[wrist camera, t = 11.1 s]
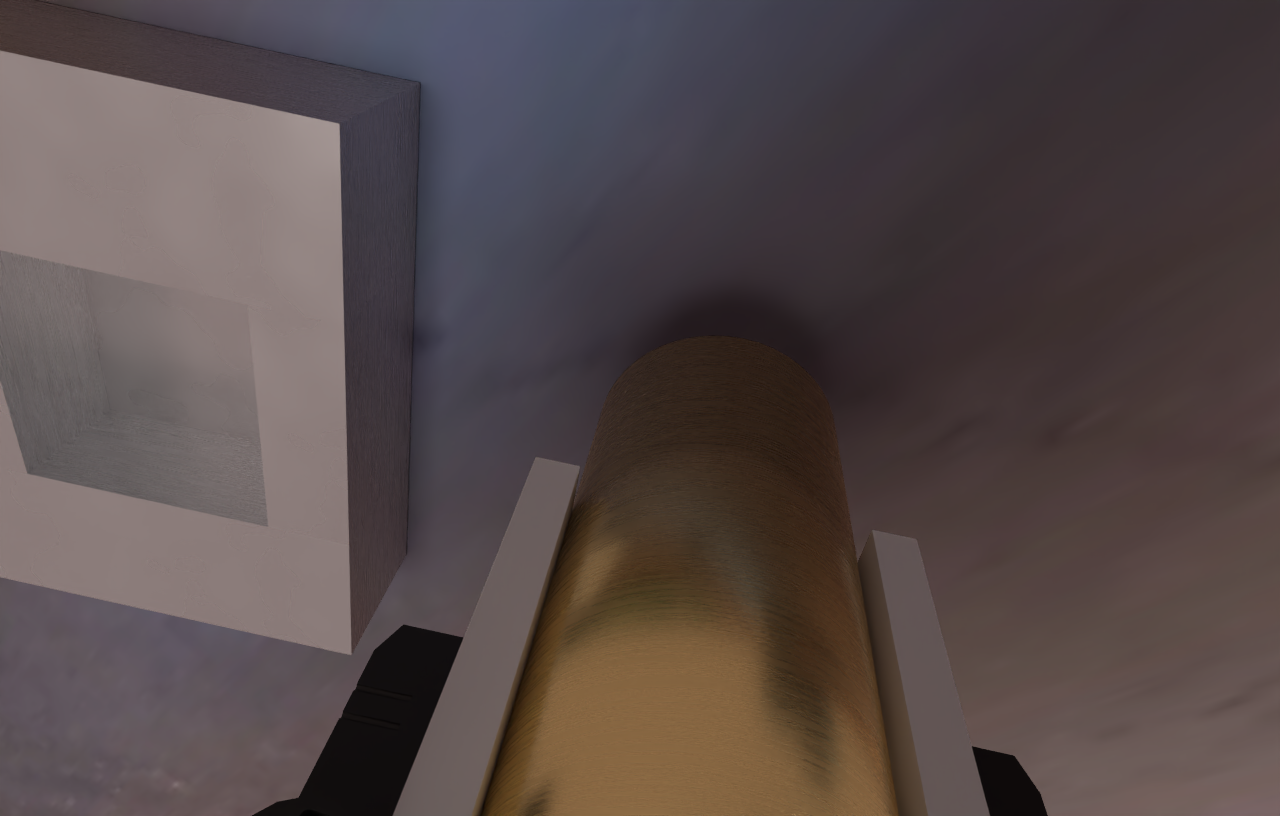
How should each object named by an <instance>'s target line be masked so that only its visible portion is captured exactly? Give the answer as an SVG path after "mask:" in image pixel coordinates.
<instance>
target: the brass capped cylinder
mask: <svg viewBox="0 0 1280 816" xmlns="http://www.w3.org/2000/svg"><path fill="white" fill-rule="evenodd" d="M481 816H899V813H898V807H897V801H896V795H895V789H894V782H893V776H892V770H891V764H890V758H889V752H888V746H887V740H886V734H885V728H884V721H883V715H882V709H881V703H880V697H879V691H878V685H877V679H876V673H875V667H874V661H873V654H872V648H871V642H870V636H869V630H868V624H867V618H866V612H865V606H864V600H863V594H862V587H861V581H860V575H859V569H858V563H857V557H856V551H855V545H854V539H853V533H852V526H851V520H850V514H849V508H848V502H847V496H846V490H845V484H844V478H843V472H842V466H841V459H840V453H839V447H838V441H837V435H836V429H835V424H834V418H833V414H832V411H831V408H830V406H829V403H828V401H827V399H826V397H825V395H824V393H823V392H822V390H821V388H820V387H819V386H818V384H817V383H816V382H815V380H814V379H813V378H812V377H811V376H810V375H809V374H808V373H807V372H806V371H805V370H804V369H803V368H802V367H801V366H800V365H799V364H797V363H796V362H795V361H793V360H792V359H791V358H789V357H788V356H786V355H784V354H782V353H781V352H779V351H777V350H775V349H773V348H771V347H768V346H766V345H763V344H761V343H758V342H754V341H750V340H747V339H743V338H736V337H730V336H700V337H692V338H687V339H682V340H678V341H675V342H672V343H669V344H666V345H663V346H661V347H659V348H657V349H655V350H652V351H650V352H649V353H647V354H646V355H644V356H642V357H641V358H639V359H638V360H636V361H635V362H634V363H633V364H632V365H631V366H630V367H628V368H627V369H626V370H625V371H624V372H623V374H622V375H621V376H620V377H619V378H618V379H617V381H616V382H615V384H614V385H613V387H612V388H611V390H610V392H609V394H608V396H607V398H606V400H605V403H604V405H603V409H602V412H601V415H600V419H599V422H598V425H597V429H596V432H595V435H594V439H593V442H592V445H591V448H590V452H589V455H588V458H587V462H586V465H585V468H584V472H583V475H582V478H581V482H580V485H579V488H578V492H577V495H576V498H575V501H574V505H573V510H572V514H571V517H570V520H569V524H568V527H567V530H566V534H565V537H564V540H563V544H562V547H561V550H560V554H559V557H558V560H557V564H556V567H555V570H554V574H553V577H552V580H551V584H550V587H549V590H548V594H547V597H546V600H545V604H544V607H543V610H542V614H541V617H540V620H539V624H538V627H537V630H536V634H535V637H534V640H533V643H532V647H531V650H530V653H529V657H528V660H527V663H526V667H525V670H524V673H523V677H522V680H521V683H520V687H519V690H518V693H517V697H516V700H515V703H514V707H513V710H512V713H511V717H510V720H509V723H508V727H507V730H506V733H505V737H504V740H503V743H502V747H501V750H500V753H499V757H498V760H497V763H496V767H495V770H494V773H493V777H492V780H491V783H490V786H489V790H488V793H487V796H486V800H485V803H484V806H483V810H482V813H481Z"/></svg>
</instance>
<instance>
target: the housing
mask: <svg viewBox="0 0 1280 816" xmlns="http://www.w3.org/2000/svg"><path fill="white" fill-rule="evenodd" d="M419 99H420V83H418V82H413V81H409V80H404V79H399V78H395V77H390V76H385V75H381V74H376V73H371V72H367V71H362V70H357V69H353V68H348V67H343V66H339V65H334V64H329V63H325V62H320V61H315V60H311V59H306V58H301V57H297V56H292V55H287V54H283V53H278V52H274V51H269V50H264V49H260V48H255V47H250V46H246V45H241V44H236V43H232V42H227V41H222V40H218V39H213V38H208V37H204V36H199V35H194V34H190V33H185V32H180V31H176V30H171V29H166V28H162V27H157V26H152V25H148V24H143V23H139V22H134V21H129V20H125V19H120V18H115V17H111V16H106V15H101V14H97V13H92V12H87V11H83V10H78V9H73V8H69V7H64V6H59V5H55V4H50V3H45V2H41V1H36V0H0V577H2V578H7V579H11V580H16V581H20V582H25V583H29V584H34V585H38V586H43V587H47V588H52V589H56V590H61V591H65V592H70V593H74V594H79V595H83V596H88V597H92V598H97V599H101V600H106V601H110V602H115V603H119V604H124V605H128V606H133V607H137V608H142V609H146V610H151V611H155V612H160V613H164V614H169V615H173V616H178V617H182V618H187V619H191V620H196V621H200V622H205V623H209V624H214V625H218V626H223V627H227V628H232V629H236V630H241V631H245V632H250V633H254V634H259V635H263V636H268V637H272V638H277V639H281V640H286V641H290V642H295V643H299V644H304V645H308V646H313V647H317V648H322V649H326V650H331V651H335V652H340V653H344V654H349V655H352V653H353V652H354V650H355V648H356V646H357V644H358V642H359V641H360V639H361V637H362V635H363V633H364V631H365V630H366V628H367V626H368V624H369V622H370V620H371V618H372V617H373V615H374V613H375V611H376V609H377V607H378V606H379V604H380V602H381V600H382V598H383V596H384V595H385V593H386V591H387V589H388V587H389V585H390V584H391V582H392V580H393V578H394V576H395V574H396V573H397V571H398V569H399V567H400V565H401V563H402V562H403V560H404V558H405V556H406V549H407V515H408V480H409V445H410V411H411V376H412V341H413V307H414V272H415V238H416V203H417V168H418V134H419Z"/></svg>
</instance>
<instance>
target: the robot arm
mask: <svg viewBox="0 0 1280 816" xmlns="http://www.w3.org/2000/svg"><path fill="white" fill-rule="evenodd" d="M579 470H580V466H576V465H571V464H567V463H562V462H558V461H553V460H548V459H544V458H539V457H535V460H534V462H533V465H532V467H531V470H530V472H529V475H528V477H527V480H526V482H525V485H524V487H523V490H522V492H521V495H520V497H519V500H518V502H517V505H516V508H515V510H514V513H513V515H512V518H511V520H510V523H509V525H508V528H507V530H506V533H505V535H504V538H503V540H502V543H501V545H500V548H499V550H498V553H497V555H496V558H495V560H494V563H493V565H492V568H491V570H490V573H489V575H488V578H487V580H486V583H485V585H484V588H483V590H482V593H481V595H480V598H479V600H478V603H477V605H476V608H475V610H474V613H473V615H472V618H471V620H470V623H469V625H468V628H467V630H466V633H465V635H464V638H463V637H458V636H453V635H449V634H444V633H440V632H435V631H431V630H426V629H421V628H417V627H412V626H408V625H403V626H401V627H400V628H399V629H398V630H397V631H396V632H395V633H393V634H392V635H391V636H390V637H389V638H388V639H387V640H385V641H384V642H383V643H382V644H381V645H380V646H379V647H377V648H376V649H375V650H374V652H373V654H372V656H371V658H370V659H369V661H368V663H367V665H366V667H365V669H364V671H363V673H362V675H361V677H360V679H359V681H358V683H357V687H356V689H355V690H354V691H353V693H352V695H351V697H350V698H349V700H348V702H347V704H346V706H345V708H344V710H343V714H342V717H341V718H339V720H338V722H337V724H336V726H335V728H334V730H333V732H332V734H331V735H330V737H329V739H328V741H327V743H326V745H325V747H324V749H323V751H322V753H321V755H320V757H319V759H318V761H317V763H316V765H315V767H314V769H313V771H312V772H311V774H310V776H309V778H308V780H307V782H306V784H305V786H304V788H303V790H302V792H301V794H300V796H299V798H295V799H290V800H285V801H279V802H276V803H274V804H272V805H271V806H269V807H267V808H265V809H263V810H261V811H259V812H258V813H256V814H254V815H252V816H481V813H482V810H483V806H484V803H485V800H486V796H487V793H488V790H489V786H490V783H491V780H492V777H493V773H494V770H495V767H496V763H497V760H498V757H499V753H500V750H501V747H502V743H503V740H504V737H505V733H506V730H507V727H508V723H509V720H510V717H511V713H512V710H513V707H514V703H515V700H516V697H517V693H518V690H519V687H520V683H521V680H522V677H523V673H524V670H525V667H526V663H527V660H528V657H529V653H530V650H531V647H532V643H533V640H534V637H535V634H536V630H537V627H538V624H539V620H540V617H541V614H542V610H543V607H544V604H545V600H546V597H547V594H548V590H549V587H550V584H551V580H552V577H553V574H554V570H555V567H556V564H557V560H558V557H559V554H560V550H561V547H562V544H563V540H564V537H565V534H566V530H567V527H568V524H569V520H570V517H571V514H572V510H573V505H574V499H575V493H576V488H577V482H578V476H579ZM858 569H859V575H860V581H861V587H862V594H863V600H864V606H865V612H866V618H867V624H868V630H869V636H870V642H871V648H872V654H873V661H874V667H875V673H876V679H877V685H878V691H879V697H880V703H881V709H882V715H883V721H884V728H885V734H886V740H887V746H888V752H889V758H890V764H891V770H892V776H893V782H894V789H895V795H896V801H897V807H898V813H899V816H1048V815H1047V812H1046V809H1045V806H1044V803H1043V800H1042V797H1041V794H1040V792H1039V791H1038V789H1037V788H1036V787H1035V785H1034V784H1033V782H1032V781H1031V779H1030V778H1029V776H1028V775H1027V773H1026V772H1025V771H1024V769H1023V768H1022V766H1021V765H1020V763H1019V762H1018V760H1017V759H1016V758H1015V756H1013V755H1009V754H1004V753H1000V752H995V751H990V750H986V749H981V748H977V747H972V746H971V742H970V739H969V735H968V731H967V727H966V723H965V720H964V716H963V712H962V708H961V704H960V701H959V697H958V693H957V689H956V686H955V682H954V678H953V674H952V670H951V667H950V663H949V659H948V655H947V652H946V648H945V644H944V640H943V636H942V633H941V629H940V625H939V621H938V618H937V614H936V610H935V606H934V602H933V599H932V595H931V591H930V587H929V583H928V580H927V576H926V572H925V568H924V565H923V561H922V557H921V553H920V549H919V546H918V542H917V539H913V538H909V537H904V536H899V535H895V534H890V533H886V532H881V531H876V530H872V531H871V533H870V536H869V538H868V540H867V542H866V545H865V547H864V549H863V552H862V554H861V556H860V558H859V561H858Z"/></svg>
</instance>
